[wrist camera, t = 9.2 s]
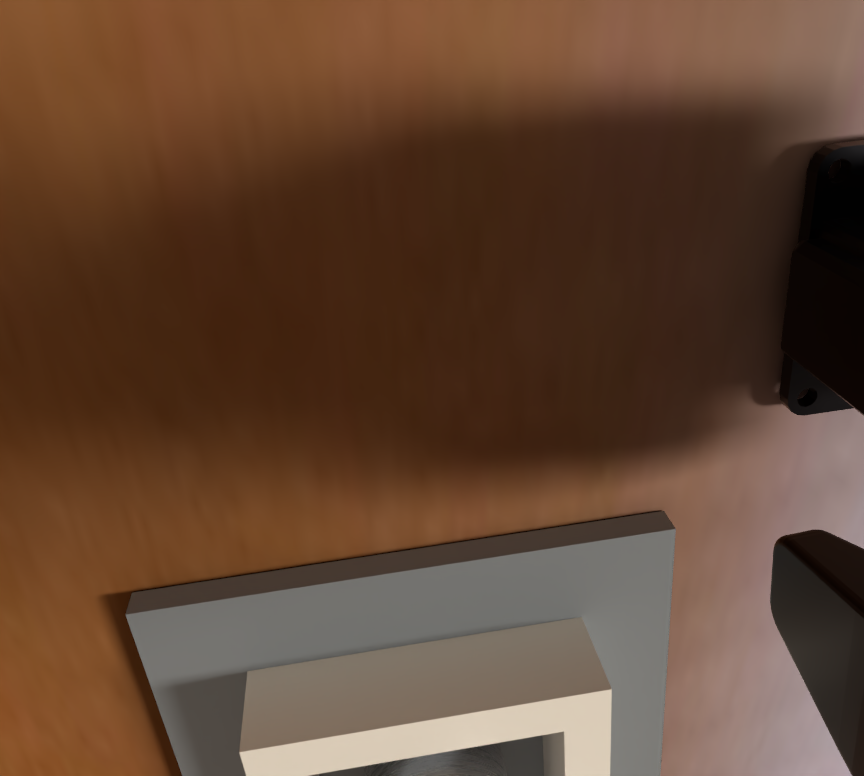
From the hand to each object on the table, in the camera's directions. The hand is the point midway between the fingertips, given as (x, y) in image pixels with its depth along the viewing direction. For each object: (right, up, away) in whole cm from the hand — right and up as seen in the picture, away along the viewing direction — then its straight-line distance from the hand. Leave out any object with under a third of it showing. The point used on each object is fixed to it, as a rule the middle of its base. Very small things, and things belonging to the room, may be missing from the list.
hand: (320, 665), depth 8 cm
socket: (+1, -8, +17) cm, 18 cm away
